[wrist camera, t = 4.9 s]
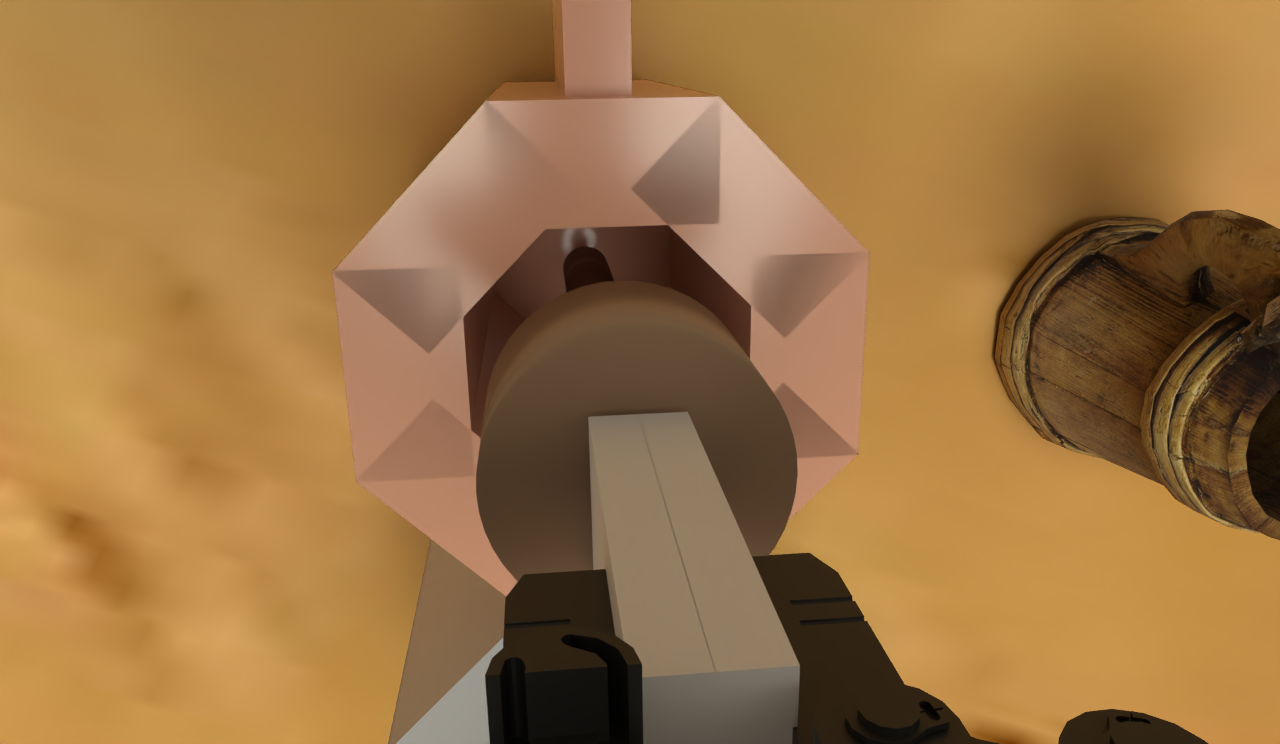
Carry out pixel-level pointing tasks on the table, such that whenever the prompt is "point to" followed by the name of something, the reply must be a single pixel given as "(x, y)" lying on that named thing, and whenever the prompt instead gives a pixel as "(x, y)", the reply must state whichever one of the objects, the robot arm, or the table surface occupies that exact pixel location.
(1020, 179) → the table surface
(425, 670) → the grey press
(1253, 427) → the wooden mug
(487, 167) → the pink octagonal mug
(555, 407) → the taupe plunger
